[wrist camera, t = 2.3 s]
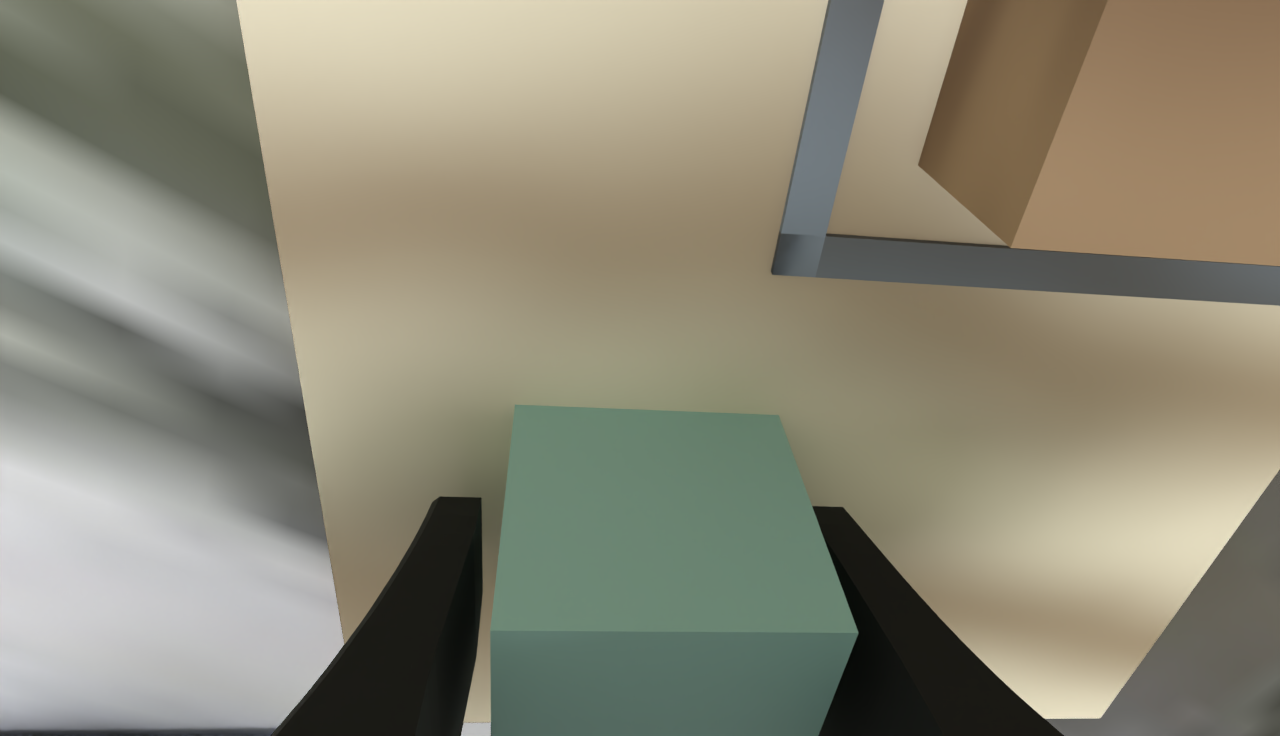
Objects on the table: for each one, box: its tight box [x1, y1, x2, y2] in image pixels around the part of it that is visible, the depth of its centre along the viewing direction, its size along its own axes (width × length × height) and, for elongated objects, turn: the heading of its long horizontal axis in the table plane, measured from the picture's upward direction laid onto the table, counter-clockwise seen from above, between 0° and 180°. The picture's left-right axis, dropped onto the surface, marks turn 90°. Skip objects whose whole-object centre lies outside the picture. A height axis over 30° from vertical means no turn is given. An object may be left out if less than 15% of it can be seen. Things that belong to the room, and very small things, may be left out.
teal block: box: [490, 405, 858, 736], centre depth 11 cm, size 4×4×4 cm
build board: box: [237, 0, 1280, 723], centre depth 11 cm, size 20×16×1 cm
